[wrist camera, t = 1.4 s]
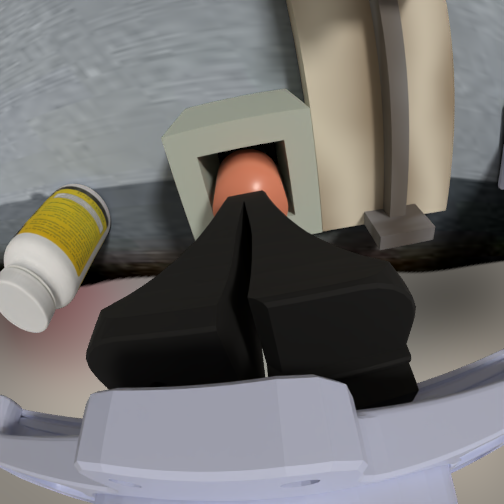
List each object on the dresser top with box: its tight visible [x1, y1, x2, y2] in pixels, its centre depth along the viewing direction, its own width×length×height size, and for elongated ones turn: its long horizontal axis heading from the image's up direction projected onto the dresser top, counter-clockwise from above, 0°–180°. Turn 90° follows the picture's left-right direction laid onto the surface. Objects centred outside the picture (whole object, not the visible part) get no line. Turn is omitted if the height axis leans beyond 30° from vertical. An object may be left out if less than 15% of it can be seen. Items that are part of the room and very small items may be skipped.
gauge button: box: [213, 149, 288, 216], centre depth 13 cm, size 3×3×3 cm
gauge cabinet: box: [161, 89, 322, 241], centre depth 16 cm, size 6×6×6 cm
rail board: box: [286, 0, 454, 250], centre depth 12 cm, size 10×24×4 cm, turn 11°
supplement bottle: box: [0, 184, 110, 333], centre depth 17 cm, size 5×5×10 cm
